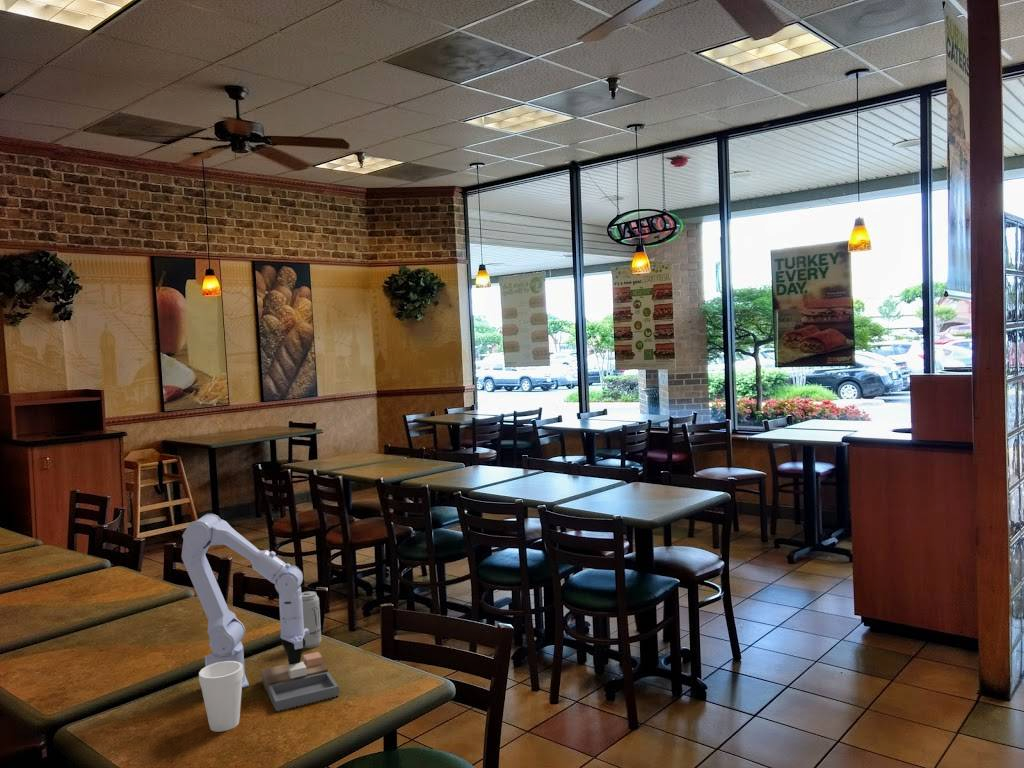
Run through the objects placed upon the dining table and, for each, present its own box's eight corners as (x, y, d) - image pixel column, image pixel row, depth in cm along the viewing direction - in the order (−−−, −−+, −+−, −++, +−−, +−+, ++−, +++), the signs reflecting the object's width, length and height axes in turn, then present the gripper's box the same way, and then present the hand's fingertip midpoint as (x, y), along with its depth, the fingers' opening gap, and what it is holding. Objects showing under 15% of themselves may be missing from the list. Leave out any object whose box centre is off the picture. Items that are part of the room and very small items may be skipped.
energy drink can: (315, 649, 219) (312, 597, 219) (296, 648, 221) (293, 597, 220) (325, 641, 225) (322, 590, 225) (306, 640, 226) (303, 590, 226)
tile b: (306, 667, 199) (306, 660, 199) (303, 662, 203) (303, 655, 203) (322, 664, 201) (321, 656, 201) (318, 659, 205) (318, 651, 204)
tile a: (290, 678, 193) (290, 670, 193) (287, 673, 196) (287, 665, 196) (306, 674, 195) (306, 667, 195) (303, 669, 198) (303, 661, 198)
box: (276, 711, 182) (275, 701, 182) (268, 695, 191) (268, 685, 191) (338, 696, 188) (338, 686, 188) (328, 681, 198) (328, 671, 197)
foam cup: (210, 716, 181) (206, 662, 180) (250, 713, 182) (247, 659, 181) (197, 736, 171) (193, 679, 171) (239, 733, 172) (236, 676, 171)
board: (268, 694, 191) (267, 683, 191) (262, 680, 199) (261, 669, 199) (328, 680, 198) (328, 669, 198) (320, 667, 206) (319, 656, 206)
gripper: (313, 620, 193) (316, 673, 194) (301, 604, 206) (304, 654, 206) (285, 626, 190) (288, 680, 190) (274, 609, 203) (277, 660, 203)
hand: (294, 667), depth 198 cm, fingers closed
